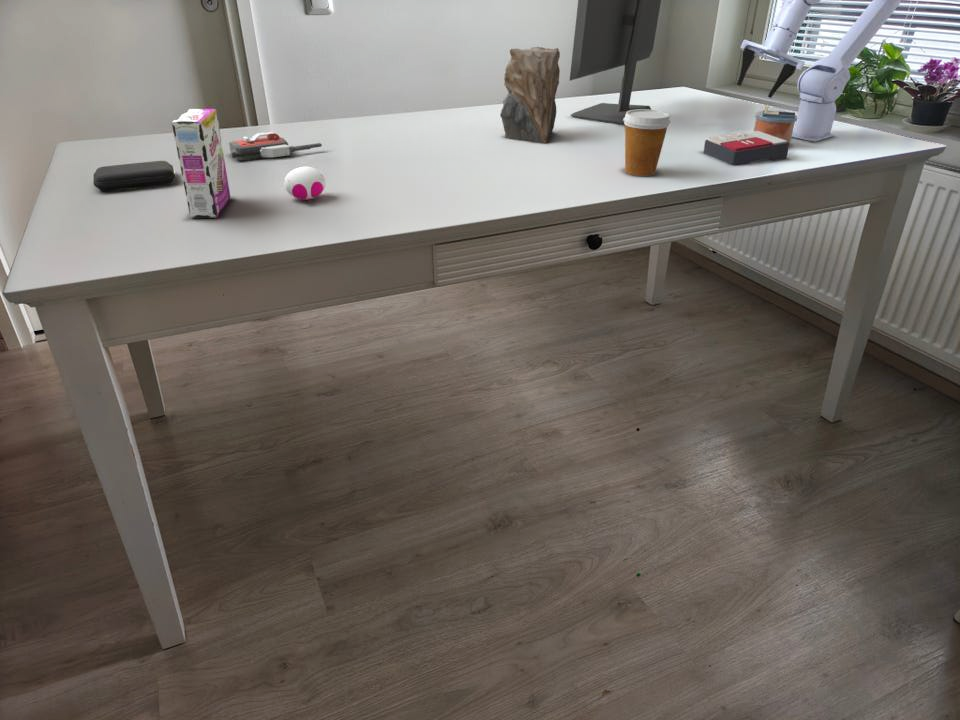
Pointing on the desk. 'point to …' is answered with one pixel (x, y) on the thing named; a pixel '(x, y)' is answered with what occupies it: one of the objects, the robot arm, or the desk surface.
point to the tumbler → (776, 124)
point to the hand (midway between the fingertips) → (753, 91)
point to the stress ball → (305, 183)
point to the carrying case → (134, 175)
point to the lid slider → (770, 111)
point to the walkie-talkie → (264, 147)
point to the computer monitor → (613, 48)
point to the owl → (531, 94)
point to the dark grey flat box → (746, 147)
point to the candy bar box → (202, 162)
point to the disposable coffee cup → (644, 140)
